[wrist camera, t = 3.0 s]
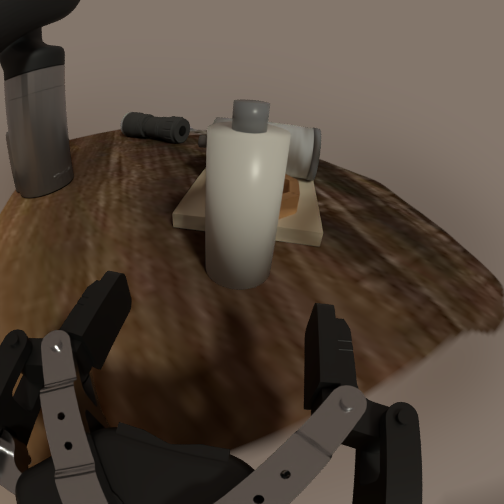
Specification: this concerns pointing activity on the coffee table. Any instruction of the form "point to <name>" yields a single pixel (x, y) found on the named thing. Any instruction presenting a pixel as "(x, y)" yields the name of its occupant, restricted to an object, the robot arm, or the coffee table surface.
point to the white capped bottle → (243, 195)
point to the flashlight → (155, 127)
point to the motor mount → (293, 197)
